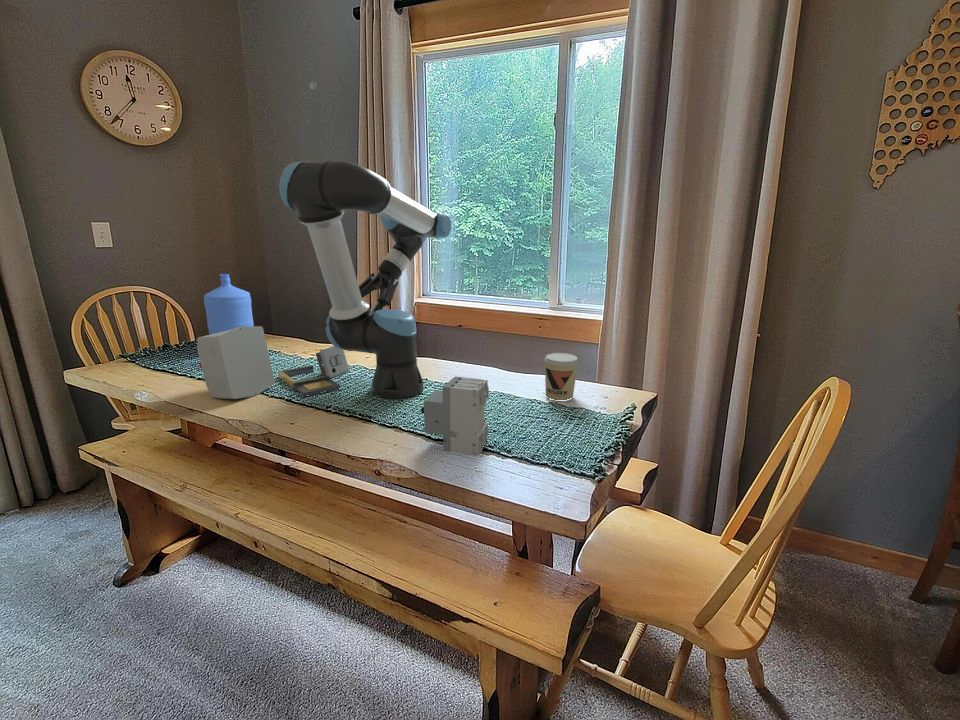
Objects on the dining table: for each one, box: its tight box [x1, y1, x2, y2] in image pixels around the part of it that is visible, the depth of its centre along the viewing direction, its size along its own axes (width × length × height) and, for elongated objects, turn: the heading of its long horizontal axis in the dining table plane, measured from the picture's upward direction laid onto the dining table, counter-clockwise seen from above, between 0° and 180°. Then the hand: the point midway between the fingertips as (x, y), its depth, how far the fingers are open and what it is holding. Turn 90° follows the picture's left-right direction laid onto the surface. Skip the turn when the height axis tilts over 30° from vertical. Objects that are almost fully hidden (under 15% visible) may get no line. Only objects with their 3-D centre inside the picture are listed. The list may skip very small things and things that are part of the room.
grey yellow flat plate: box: [277, 364, 342, 397], centre depth 154 cm, size 22×11×2 cm, turn 39°
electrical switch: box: [315, 345, 350, 379], centre depth 162 cm, size 9×5×9 cm, turn 152°
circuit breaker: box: [420, 376, 490, 456], centre depth 113 cm, size 8×14×15 cm, turn 73°
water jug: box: [203, 273, 255, 335], centre depth 187 cm, size 16×16×28 cm
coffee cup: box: [544, 352, 579, 400], centre depth 143 cm, size 9×9×12 cm
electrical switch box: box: [196, 325, 276, 400], centre depth 144 cm, size 15×15×20 cm
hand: (357, 317), depth 163 cm, fingers open, 13 cm apart
